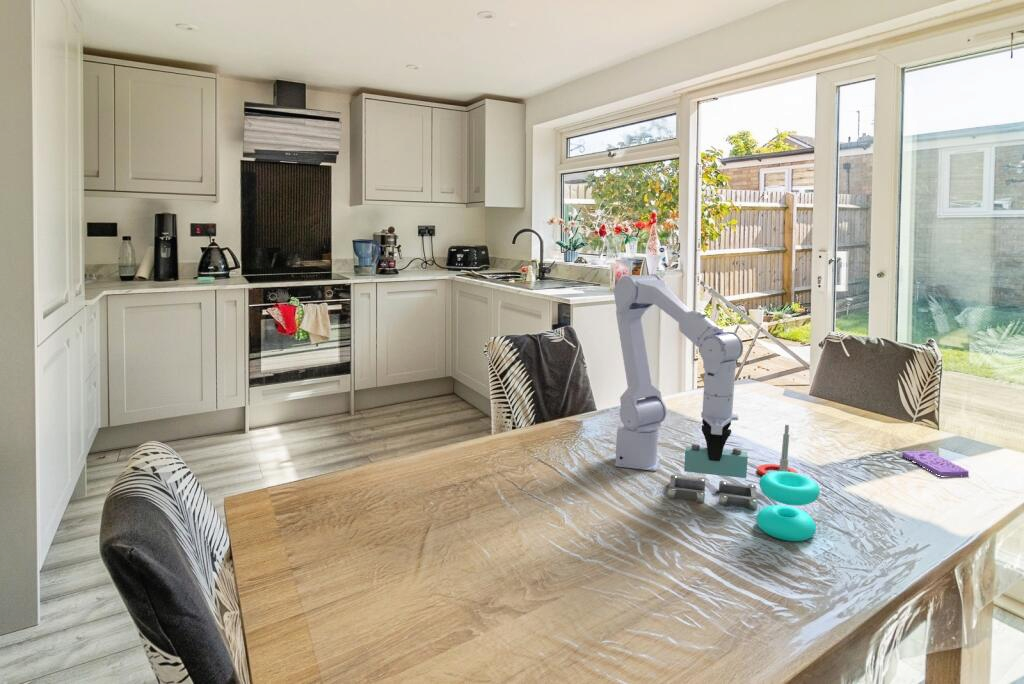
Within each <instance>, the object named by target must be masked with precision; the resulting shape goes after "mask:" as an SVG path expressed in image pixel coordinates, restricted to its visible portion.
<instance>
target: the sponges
mask: <svg viewBox="0 0 1024 684" xmlns="http://www.w3.org/2000/svg"><path fill="white" fill-rule="evenodd" d="M901 452H902V453H901V454H902V455H901V456H904V457H906V458H908V459H910V460H912V461H914V462H916V463H917V464H919V465H921V466H923V467H925V468H926V469H928V470H930V471H932V472H933V473H935V474H937V475H940V476H954V477H969V473H970V472H969V471H970V470H967V469H966V468H964V467H961V466H960V465H957V464H954V463H953V462H952V461H950V460H948V459H945V458H944V457H943V456H941V455H938V454H936V453H935V452H933V451H931V450H930V449H928V450H913V451H912V450H911V451H910V450H907V451H906V450H905V451H903V450H902V451H901ZM904 457H903V458H904ZM906 458H905V459H906ZM908 459H907V460H908ZM912 461H911V462H912ZM917 464H916V465H917ZM919 465H918V466H919ZM926 469H925V470H926ZM928 470H927V471H928ZM930 471H929V472H930ZM933 473H932V474H933ZM935 474H934V475H935ZM937 475H936V476H937ZM961 475H962V476H961ZM940 476H939V477H940Z"/></svg>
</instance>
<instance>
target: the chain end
mask: <svg viewBox="0 0 1024 684" xmlns="http://www.w3.org/2000/svg"><path fill="white" fill-rule="evenodd" d="M705 489H706V478H702V477H699V478H690V477H679V475H677V474H671V475H670V479H669V486H668V489H667V499H669V500H676V499H682V500H690V501H695V502H696V503H698V504H704V503H705V496H706V493H705Z"/></svg>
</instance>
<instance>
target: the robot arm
mask: <svg viewBox="0 0 1024 684" xmlns="http://www.w3.org/2000/svg"><path fill="white" fill-rule="evenodd" d="M613 294H614V301H615V307H616V311H615V314H616V320H617V321H616V322H617V328H618V335H619V339H620V341H619V342H620V345H621V346H620V347H621V354H622V358H623V364H624V365H623V366H624V370H625V378H626V383H627V388H626V389H625V391H624V392H623V394H622V395H620V397H619V401H620V408H619V417H620V421H621V423H622V424H619V425H618V426H617V431H616V438H615V439H616V440H615V443H616V445H615V463H614V466H615V467H619V468H627V469H628V468H629V469H637V470H645V471H653V472H656V471H658V467H659V463H660V458H661V457H660V456H658V446H659V445H658V443H659V441H658V440H659V428H661V424H662V422H664V420H665V419H666V417H667V406H666V403H665V402H664V400H663V398H662V394H661V391H660V389H658V388H657V387H655V385H653V384H652V379H651V372H650V366H649V362H648V361H649V360H648V355H647V349H646V341H645V336H644V330H643V329H644V328H643V323H642V317H643V315H644V314H645V312H646V311H648V309H650V308H651V307H652V306H653V305H655V306H657V307H658V308H659V309H660V310H662V311H663V312H664V313H666V314H667V315H669V317H671V318H672V319H674V320H675V321H676V322H677V323H678V329H679V332H680V333H682V334H683V336H685V338H687V339H688V340H689V341H690V342H691V343H693V344H694V345H695V346H696V347H697V348H698V349H699V355H700V358H701V360H702V362H703V363H702V365H703V367H702V369H704V378H703V379H704V381H703V383H704V384H703V395H702V396H703V397H702V412H700V415H701V418H702V419H701V420H702V421H701V422H702V425H701V431H702V434H703V436H704V439H705V442H706V448H707V452H708V458H709V460H710V461H720V459H721V456H722V452H723V449H724V447H725V445H726V442H727V440H728V438H729V437H730V436H731V434H732V429H731V428H730V427H731V425H732V421H739V415H738V414H736V413H735V414H734V413H733V408H734V394H735V393H734V392H735V377H736V365H737V360H739V359H740V358H741V356H742V355H743V352H744V345H743V341H742V339H741V338H740V337H739V336H738V334H737V333H736V332H733V331H726V330H724V329H723V328H722V327H721V326H719V325H717V324H716V323H714V322H713V321H712V320H711V319H709V317H707V316H708V314H707V313H706V312H705V311H704V310H701V311H700V310H698V309H697V310H696V309H695V310H694V309H693V310H690V309H689V308H688V306H687V305H685V304H684V302H682V301H681V300H680V299H679V298H678V297H677V296H676V295H675V293H673V292H672V291H671V290H670V288H668V285H667V282H666V281H665V280H663V279H662V278H661V276H659V275H658V274H655V273H654V274H653V273H652V274H648V275H647V274H646V275H644V274H643V275H633V276H631V275H623V276H622V277H620V278H619V279H617V282H616V284H615V286H614V287H613Z"/></svg>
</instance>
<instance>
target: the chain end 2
mask: <svg viewBox="0 0 1024 684" xmlns="http://www.w3.org/2000/svg"><path fill="white" fill-rule="evenodd" d="M756 489H757V487H756V484H751V483H750V484H749V483H748V484H747V485H746V484H736V483H731V482H730V483H728V481H726V480H719V484H718V492H719V498H718V505H719V506H722V507H727V506H734V507H735V506H737V507H742V508H748V509H749V510H751V511H757V510H758V502H759V500H758V496H757V495H758V494H757V490H756Z"/></svg>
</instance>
